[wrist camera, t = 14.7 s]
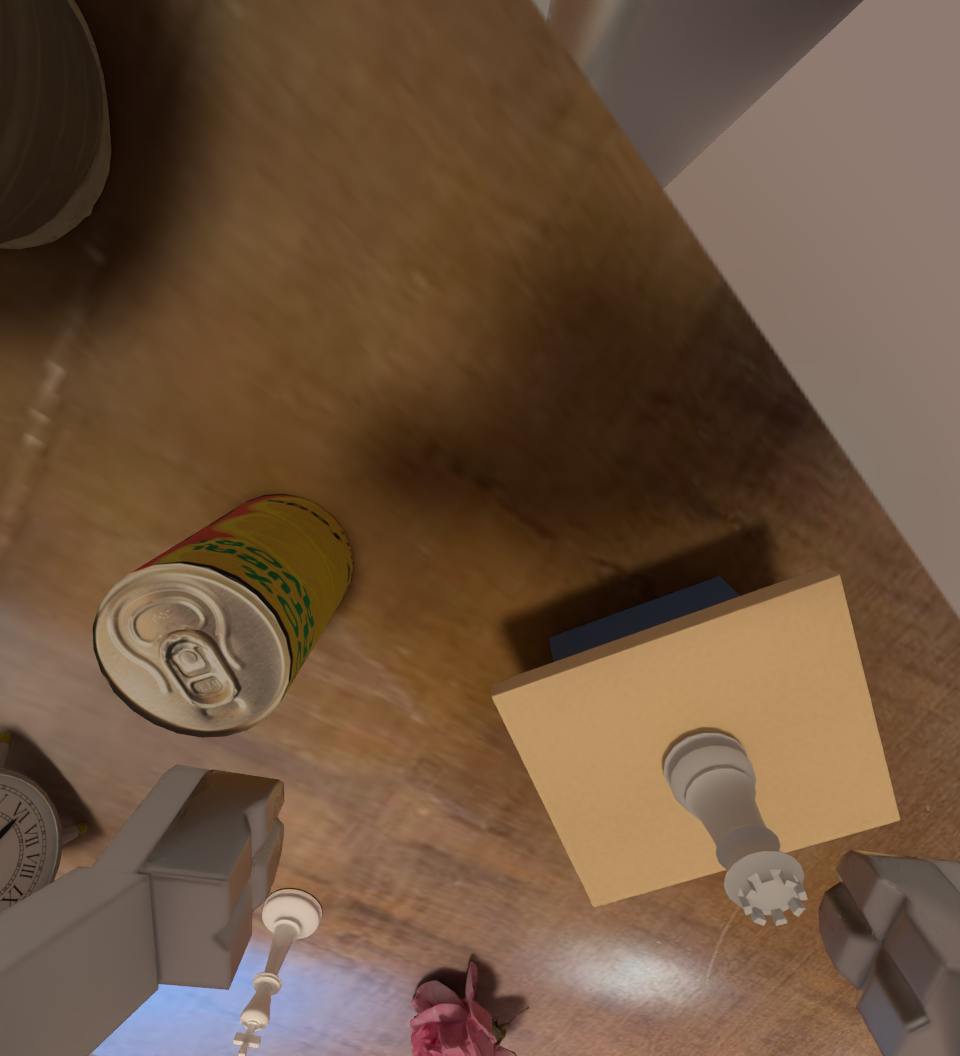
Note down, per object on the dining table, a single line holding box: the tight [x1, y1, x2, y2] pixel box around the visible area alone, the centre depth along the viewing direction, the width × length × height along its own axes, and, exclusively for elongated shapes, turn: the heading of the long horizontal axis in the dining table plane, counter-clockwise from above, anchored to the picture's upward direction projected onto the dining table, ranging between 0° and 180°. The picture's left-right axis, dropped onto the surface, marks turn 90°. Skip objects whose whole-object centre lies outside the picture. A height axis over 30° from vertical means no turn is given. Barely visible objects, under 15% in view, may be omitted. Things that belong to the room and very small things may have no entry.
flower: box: [410, 961, 529, 1056], centre depth 46 cm, size 11×10×10 cm
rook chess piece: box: [663, 732, 808, 926], centre depth 26 cm, size 4×4×8 cm
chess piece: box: [233, 889, 322, 1056], centre depth 42 cm, size 5×5×10 cm
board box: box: [492, 566, 900, 907], centre depth 34 cm, size 18×16×9 cm
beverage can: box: [93, 494, 354, 737], centre depth 31 cm, size 9×9×12 cm
